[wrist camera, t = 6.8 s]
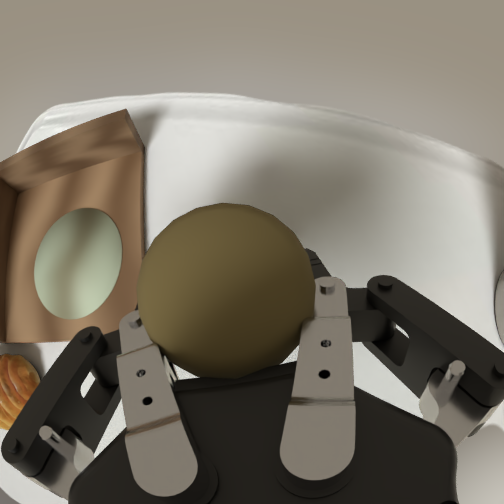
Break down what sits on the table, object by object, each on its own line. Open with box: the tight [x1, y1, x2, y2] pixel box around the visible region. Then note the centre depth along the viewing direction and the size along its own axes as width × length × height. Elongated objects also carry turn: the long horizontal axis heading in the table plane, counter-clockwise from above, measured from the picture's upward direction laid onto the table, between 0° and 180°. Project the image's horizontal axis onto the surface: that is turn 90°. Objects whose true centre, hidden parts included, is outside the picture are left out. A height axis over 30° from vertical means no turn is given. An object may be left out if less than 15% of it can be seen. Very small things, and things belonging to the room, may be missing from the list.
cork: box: [136, 203, 316, 379], centre depth 12 cm, size 6×6×11 cm
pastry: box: [0, 354, 40, 430], centre depth 14 cm, size 9×7×4 cm
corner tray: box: [0, 109, 145, 343], centre depth 18 cm, size 16×16×5 cm
